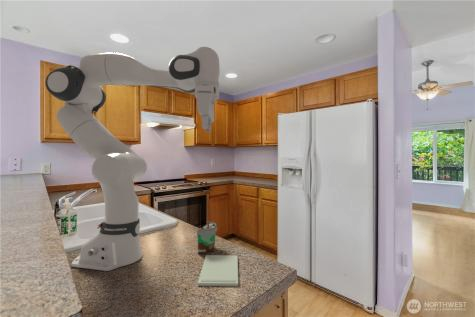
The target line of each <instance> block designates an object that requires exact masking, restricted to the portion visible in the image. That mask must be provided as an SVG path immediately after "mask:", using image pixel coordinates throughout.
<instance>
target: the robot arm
mask: <svg viewBox="0 0 475 317" xmlns="http://www.w3.org/2000/svg"><path fill="white" fill-rule="evenodd" d="M220 68H221V67H220V57H219V55H218V53H217V52H216V51H215V50H214V49H212V48H211V47H209V46H200V47H198V48H197V49H196V50H195V51H192V52H190V53H186V54H178V55H176V56H174V57H172V59H171V60H170V61H169V64H168V70H161V69H154V68H151V67H148V66H146V65H145V64H143V63H142V62H140V61H138V60H137V59H136V58H134V57H132V56H131V55H127V54H123V53H119V52H116V53H115V52H114V53H113V52H104V53H101V52H100V53H92V54H88V55H85V56H83V57H82V58H81V59H80V62H79V66H75V65H70V64H69V65H68V66H65V67H58V68H56V69H54V70H52V71H50V72H49V73H48V74H47V76H46V78H45V82H44V83H45V84H44V85H45V87H46V90H47V92H49V94H50V95H52V96H53V97H54V98H56V99H57V100H59V101H63V102H64V105H63V106H62V107H60V108H59V109H58V111H57V113H56V120H57V122H58V123H59V124H60V127H61V128H62V129H63V130H64V132H65V133H66V134H67V136H69V138H70V139H71V140H72V141H73V142H74V144H76V145H77V146H78V147H79V148H80V149H81V150H82V151H83V152H84V153H85V155H87V156H88V157H90V158H93V159H94V161H93V163H92V165H91V172H92V173H91V174H92V176H93V177H94V179H95V180H96V182H98V184H99V185H100V188H101V190H102V194H103V198H104V199H103V200H104V221H102V222H101V223H100V224H98V225H97V227H96V229H99V231H98V232H97V233H96V234H95V235H93V236H92V237H91V238H90V239H88V240H87V241H86V242H84V244H83V245H82V247H81V249H80V253H79V255H78V256H77V257H76V258H74V259H73V260H72V261H71V267H72V268H82V269H88V270H89V269H90V270H96V271H97V270H98V271H103V272H108V271H112V270H115V269H118V268H121V267H124V266H128V265H131V264H133V263H136V262H137V261H139V260H140V259H142V257H143V251H142V249H141V244H140V231H141V230H140V229H141V227H140V226H141V225H140V221H141V220H140V217H139V213H140V212H139V204H140V203H139V201H140V199H139V197H138V195H137V194H136V191H135V187H134V182H136V181H138V180H139V179H140V178H142V177H143V176H144V175H145V174H146V172H147V168H148V166H147V161H146V160H145V159H144V158H143V157H141V156H140V155H139V154H137V153H136V152H135V151H134V150H132V149H131V148H129V146H127V144H125V143H124V142H122V141H121V140H119V139H118V138H117V137H116V136H114V134H113V133H111V132H110V130H108V129H107V127H105V126H104V124H102V122H101V121H100V120H98V118H96V116H94V114H96V113H98V112H99V109H101V108H102V107H103V106H104V105H105V103H106V100H107V95H106V92H105V90H104V89H103V88H102V87H104V86H149V87H158V88H160V87H162V88H174V89H179V90H180V91H182V92H185V93H189V94H191V93H194V97H195V99H196V108H197V112H198V114H199V116H201V127H202V128H201V129H203V130H205V132H206V133H211V132H212V131H211V130H212V123H214V122H215V104H216V103H217V102H216V101H218V100H219V99H220V82H219V78H220V70H221V69H220Z"/></svg>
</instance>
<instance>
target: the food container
mask: <svg viewBox="0 0 475 317" xmlns="http://www.w3.org/2000/svg"><path fill="white" fill-rule="evenodd" d="M217 232H218V226H217V224H216V223H215V222H213V221H209V220H208V221H206V224H205V225H203V226H202V227H201V228H198V229H197V232H196V236H197V254H198V255H204V254H206V255H207V254H210V253H212V252H214V251H213V250H215V246H216V245H215V243H216V235H217V234H216V233H217ZM209 252H210V253H209Z"/></svg>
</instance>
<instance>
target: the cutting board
mask: <svg viewBox="0 0 475 317" xmlns="http://www.w3.org/2000/svg"><path fill="white" fill-rule="evenodd" d="M238 259H239V258H238V255H236V254H235V255H229V254H227V255H226V254H225V255H223V254H222V255H221V254H220V255H218V254H211V255H210V254H206V255H205V257H204V260H203V264H202V267H201V271H200V274H199V277H198V280H197V287H200V286H201V287H202V286H204V287H214V286H215V287H216V286H217V287H238V286H239V266H238V265H239V264H238V263H239V261H238Z"/></svg>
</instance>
